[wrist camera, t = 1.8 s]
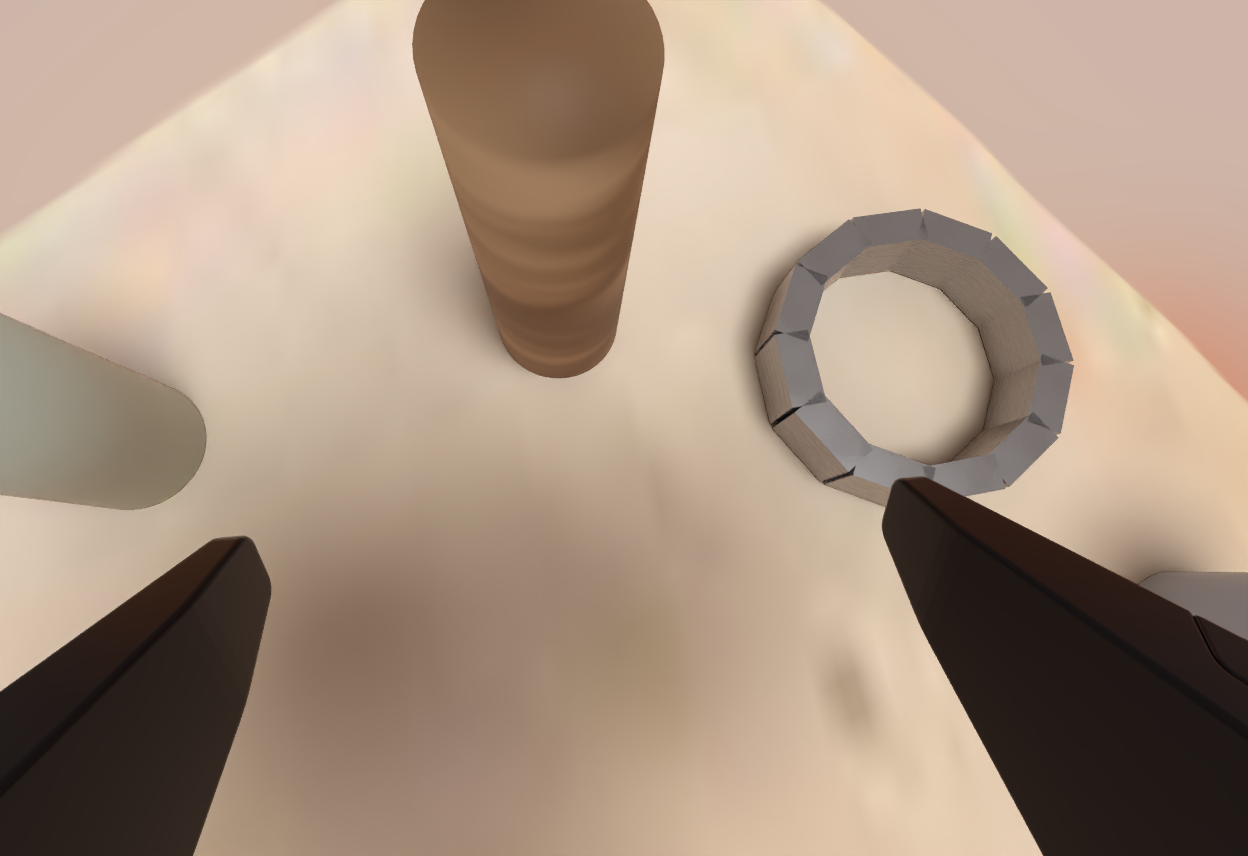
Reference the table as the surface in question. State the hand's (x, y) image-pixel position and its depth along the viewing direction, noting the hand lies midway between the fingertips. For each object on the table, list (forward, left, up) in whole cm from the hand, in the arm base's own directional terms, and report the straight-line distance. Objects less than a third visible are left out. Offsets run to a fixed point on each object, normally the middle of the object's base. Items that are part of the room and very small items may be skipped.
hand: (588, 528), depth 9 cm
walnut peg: (+5, +7, -13) cm, 16 cm away
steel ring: (+13, -3, -13) cm, 19 cm away
